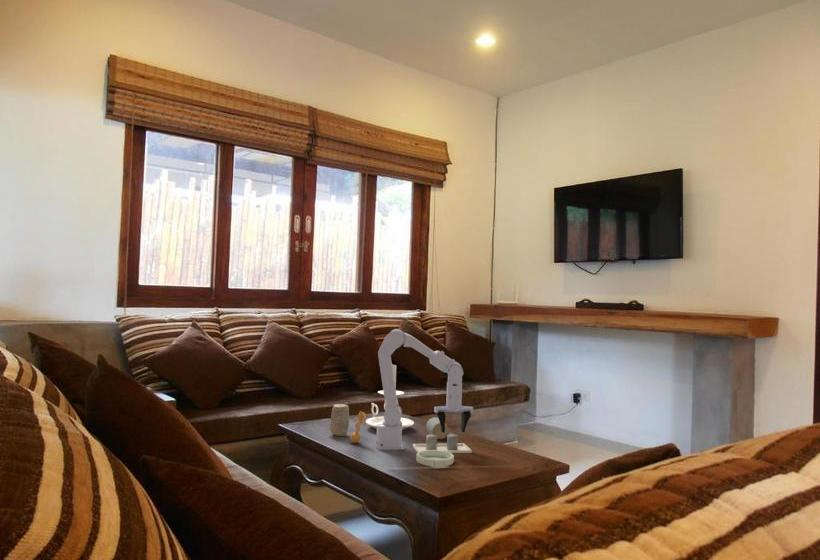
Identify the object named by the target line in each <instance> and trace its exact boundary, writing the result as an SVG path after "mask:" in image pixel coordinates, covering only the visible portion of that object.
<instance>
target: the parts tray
mask: <svg viewBox="0 0 820 560" xmlns="http://www.w3.org/2000/svg"><path fill="white" fill-rule="evenodd" d="M412 447H413V449H414V450H415V451H416V454H417V453H418V452H419V451H424V450H426V443H413V444H412ZM437 450H441V451H446V452H449V453H452V454H472V451H473V450H472V449H471V448H470V447H469V446H468V445H467V444H466V443H460V442H458V450H447V442H445V443H437Z"/></svg>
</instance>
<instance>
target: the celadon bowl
mask: <svg viewBox="0 0 820 560" xmlns="http://www.w3.org/2000/svg"><path fill="white" fill-rule="evenodd" d="M415 456H416V457H415V459H416V462H417V463H418V464H421V465H423V466H424V467H425V468H431V469H446V468H450V467H452V466H451V465H453V463H454V462H455V455H454V453H449V452H446V451H441V450H424V451H419V452H418V453H417V452H416V454H415Z"/></svg>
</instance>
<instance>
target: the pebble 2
mask: <svg viewBox="0 0 820 560" xmlns="http://www.w3.org/2000/svg"><path fill="white" fill-rule="evenodd" d="M446 443H447V450H458V443H459V435H457V434H453V433H452V434H449V435H447V437H446Z"/></svg>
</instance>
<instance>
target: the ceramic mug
mask: <svg viewBox="0 0 820 560" xmlns="http://www.w3.org/2000/svg"><path fill="white" fill-rule="evenodd" d="M425 424H426V425H425V431H426V433H427V435H437V440H444V439H447V435H449V434H453V433H452V432H451V431H449V426H448V425H447V424H446V423H445V433H443V432H442V431H441V425H440V421H439V418H438V416H437V417H435V416H434V417H431V418H430V419H428V421H427V422H426V423H425Z"/></svg>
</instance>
